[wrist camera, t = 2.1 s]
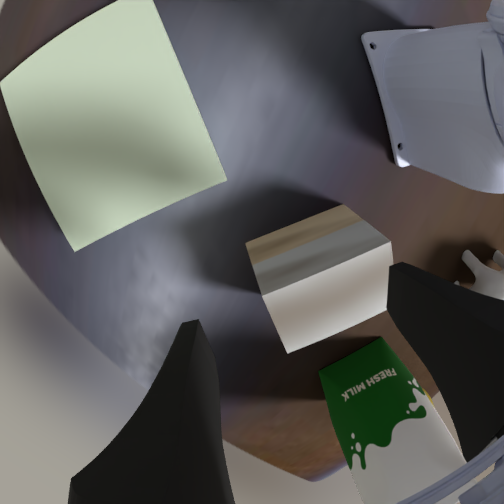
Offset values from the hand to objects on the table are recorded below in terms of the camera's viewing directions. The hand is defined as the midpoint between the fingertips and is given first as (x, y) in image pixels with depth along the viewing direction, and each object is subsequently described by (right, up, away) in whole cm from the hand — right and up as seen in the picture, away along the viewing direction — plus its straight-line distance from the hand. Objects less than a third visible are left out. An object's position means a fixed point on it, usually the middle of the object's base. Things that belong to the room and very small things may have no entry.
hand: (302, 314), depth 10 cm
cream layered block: (+2, +2, +10) cm, 10 cm away
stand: (-10, +10, +4) cm, 15 cm away
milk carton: (+9, -10, +17) cm, 22 cm away
